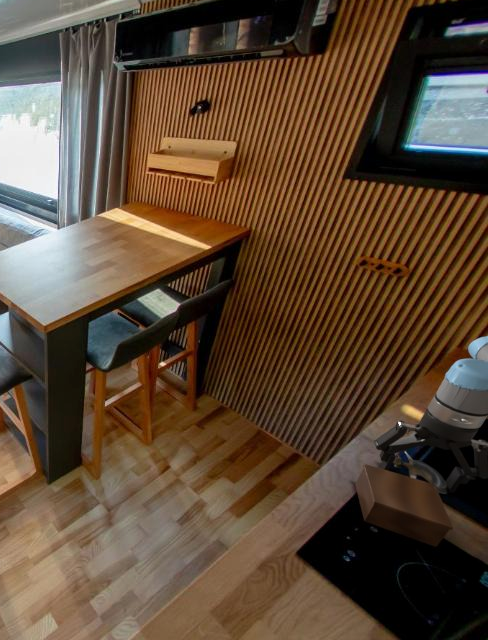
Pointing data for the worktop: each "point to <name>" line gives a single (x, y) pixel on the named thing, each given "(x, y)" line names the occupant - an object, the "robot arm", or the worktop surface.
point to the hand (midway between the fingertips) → (414, 478)
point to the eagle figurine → (422, 472)
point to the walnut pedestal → (402, 505)
